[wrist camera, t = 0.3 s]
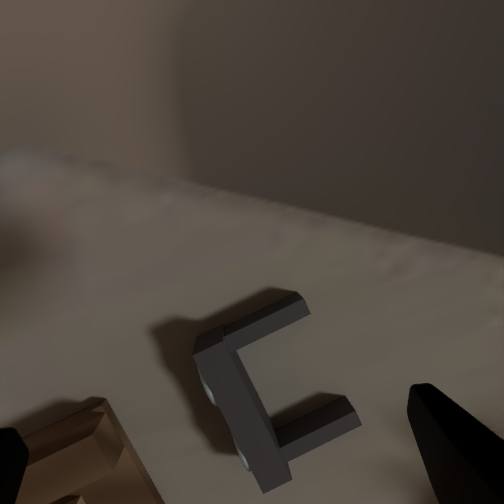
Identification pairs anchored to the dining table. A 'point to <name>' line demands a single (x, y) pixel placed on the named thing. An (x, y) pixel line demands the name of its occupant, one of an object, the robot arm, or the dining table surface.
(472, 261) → the dining table surface
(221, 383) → the grey c-shaped bracket
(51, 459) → the display stand
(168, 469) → the dining table surface
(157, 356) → the dining table surface
